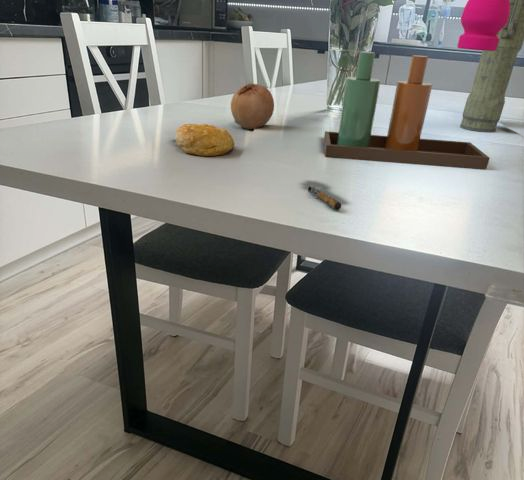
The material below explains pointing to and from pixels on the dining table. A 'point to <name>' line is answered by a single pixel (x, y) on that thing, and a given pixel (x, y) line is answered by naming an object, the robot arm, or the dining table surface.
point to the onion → (252, 106)
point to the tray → (410, 152)
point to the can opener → (325, 198)
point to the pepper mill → (483, 24)
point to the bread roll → (204, 139)
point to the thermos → (494, 75)
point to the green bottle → (359, 104)
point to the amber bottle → (409, 108)
